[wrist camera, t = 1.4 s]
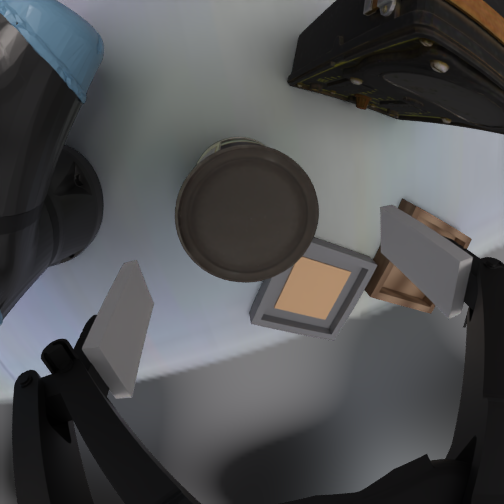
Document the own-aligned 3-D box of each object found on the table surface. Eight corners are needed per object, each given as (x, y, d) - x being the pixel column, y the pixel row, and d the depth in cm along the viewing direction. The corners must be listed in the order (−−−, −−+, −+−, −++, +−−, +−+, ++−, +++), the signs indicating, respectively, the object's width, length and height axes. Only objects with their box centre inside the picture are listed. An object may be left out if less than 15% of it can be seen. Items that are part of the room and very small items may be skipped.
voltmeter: (281, 92, 30) (414, 42, 8) (294, 26, 27) (415, -89, 4) (398, 127, 33) (571, 168, 10) (409, 68, 29) (575, 61, 7)
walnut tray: (360, 284, 42) (370, 296, 38) (402, 198, 37) (416, 206, 34) (420, 301, 45) (430, 313, 41) (458, 230, 40) (471, 239, 37)
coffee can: (263, 122, 31) (292, 123, 19) (293, 204, 36) (334, 253, 23) (177, 158, 32) (149, 182, 19) (213, 236, 36) (211, 301, 24)
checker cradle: (249, 312, 42) (251, 323, 39) (286, 227, 37) (290, 235, 35) (329, 330, 44) (334, 340, 42) (369, 257, 40) (377, 265, 38)
